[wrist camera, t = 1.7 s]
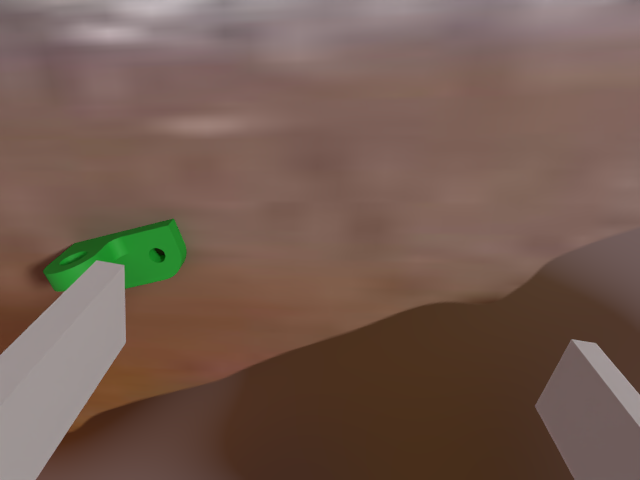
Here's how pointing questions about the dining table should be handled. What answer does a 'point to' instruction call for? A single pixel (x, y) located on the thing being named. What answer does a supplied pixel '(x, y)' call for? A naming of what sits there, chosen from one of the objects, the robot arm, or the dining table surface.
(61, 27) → the dining table surface
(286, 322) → the dining table surface
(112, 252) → the mechanical part
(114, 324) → the robot arm
